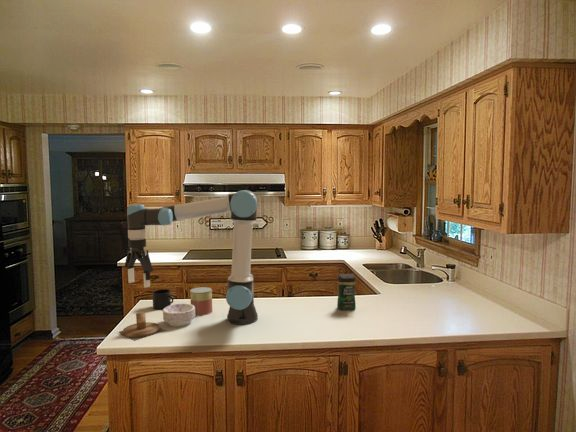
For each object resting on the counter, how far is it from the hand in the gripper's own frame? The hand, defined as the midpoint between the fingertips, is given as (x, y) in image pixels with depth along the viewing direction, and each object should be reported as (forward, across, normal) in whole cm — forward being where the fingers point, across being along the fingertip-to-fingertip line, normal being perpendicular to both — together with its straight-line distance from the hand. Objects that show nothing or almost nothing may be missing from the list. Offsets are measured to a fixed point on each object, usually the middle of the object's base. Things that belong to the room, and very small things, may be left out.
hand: (139, 284), depth 190 cm
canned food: (+22, +2, -36) cm, 43 cm away
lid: (+22, 0, 0) cm, 22 cm away
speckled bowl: (+22, -4, -18) cm, 29 cm away
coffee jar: (+22, -55, -88) cm, 106 cm away
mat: (+22, 0, 0) cm, 22 cm away
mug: (+23, +25, -28) cm, 44 cm away
